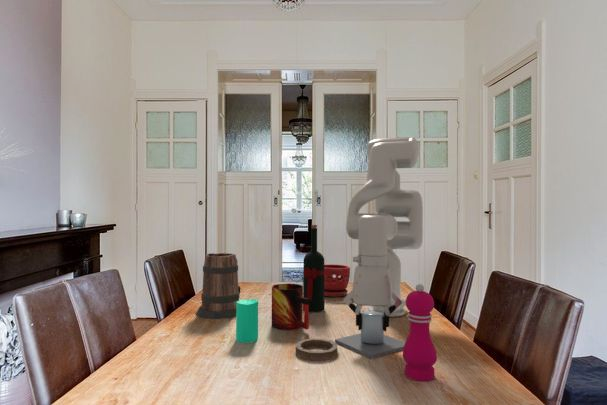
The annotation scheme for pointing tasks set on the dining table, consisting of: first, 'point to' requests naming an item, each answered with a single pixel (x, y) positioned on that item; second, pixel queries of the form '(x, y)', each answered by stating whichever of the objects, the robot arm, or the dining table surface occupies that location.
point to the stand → (316, 354)
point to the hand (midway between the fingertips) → (372, 328)
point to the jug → (372, 327)
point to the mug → (289, 307)
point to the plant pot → (336, 280)
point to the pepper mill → (419, 337)
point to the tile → (371, 345)
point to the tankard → (219, 287)
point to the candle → (247, 320)
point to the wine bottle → (314, 276)
